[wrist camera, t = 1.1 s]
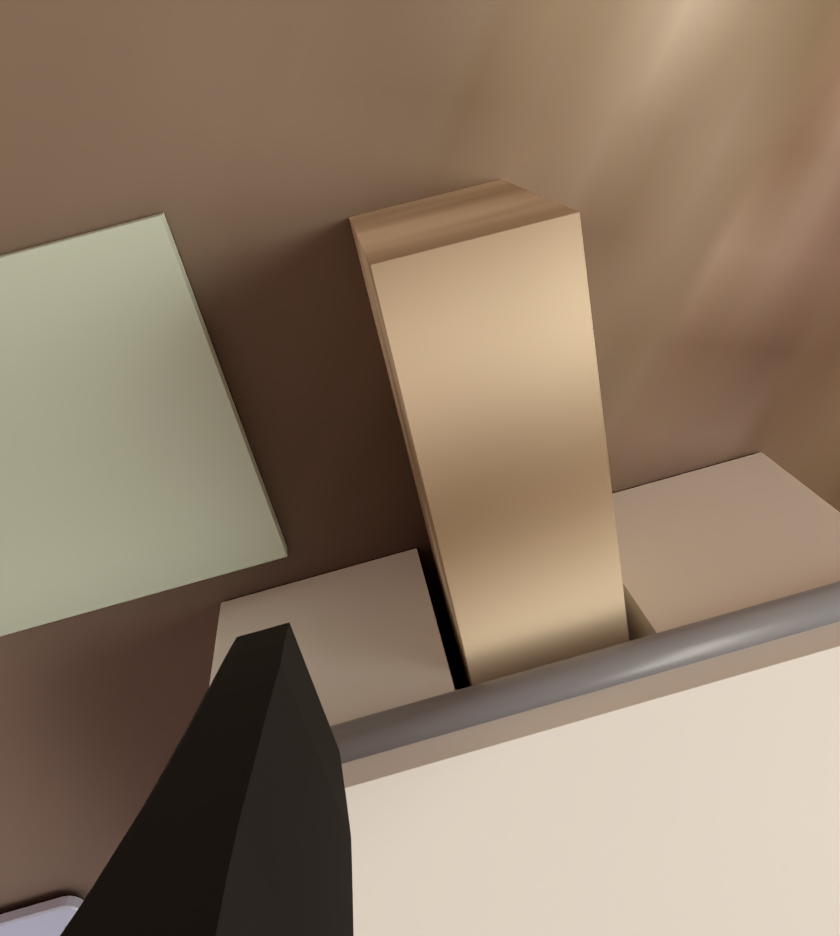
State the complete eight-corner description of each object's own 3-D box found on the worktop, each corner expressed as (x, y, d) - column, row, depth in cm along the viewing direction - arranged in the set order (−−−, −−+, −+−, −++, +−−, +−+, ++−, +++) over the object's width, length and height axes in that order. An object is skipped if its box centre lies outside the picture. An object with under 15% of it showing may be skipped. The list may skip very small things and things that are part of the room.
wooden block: (561, 571, 21) (637, 703, 16) (444, 602, 20) (487, 745, 16) (499, 178, 16) (579, 212, 12) (348, 216, 16) (370, 264, 11)
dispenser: (769, 733, 24) (926, 944, 18) (332, 860, 24) (345, 1118, 18) (760, 438, 19) (968, 591, 13) (215, 589, 19) (180, 817, 13)
